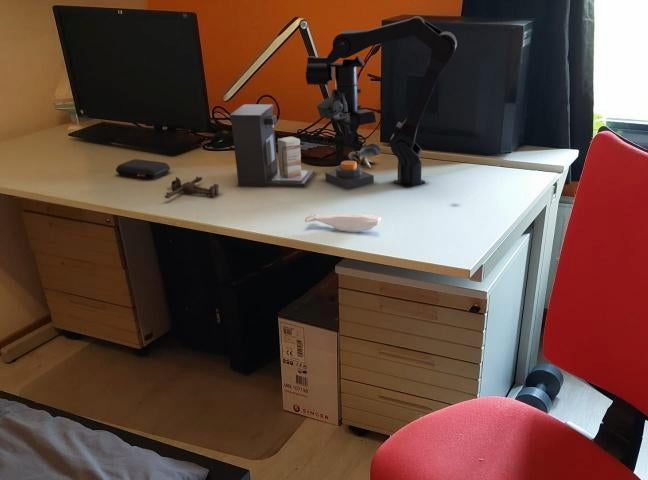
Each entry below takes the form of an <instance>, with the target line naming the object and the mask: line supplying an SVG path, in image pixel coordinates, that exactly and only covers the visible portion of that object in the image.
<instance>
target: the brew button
mask: <svg viewBox="0 0 648 480" xmlns="http://www.w3.org/2000/svg"><path fill="white" fill-rule="evenodd" d="M340 165H341V169H342V170H355V169H357V162H356V161H354V160H343V161H341V162H340Z"/></svg>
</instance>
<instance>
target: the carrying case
mask: <svg viewBox="0 0 648 480" xmlns="http://www.w3.org/2000/svg"><path fill="white" fill-rule="evenodd" d="M115 168H116V169H115V172H116V173H117V174H118V175H119V176H125V177H132V178H137V179H139V178H140V179H147V180H153V179H156V178H159V177H161V176H164V175H165V174H168V173H169V172H170V170H171V166H170V165H169V164H168V163H166V162H162V161H154V160H147V159H139V158H138V159H137V158H133V159H130V160H128V161H126V162H123V163H120V164H118V165H117V166H116V167H115Z"/></svg>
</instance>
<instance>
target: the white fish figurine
mask: <svg viewBox="0 0 648 480" xmlns="http://www.w3.org/2000/svg"><path fill="white" fill-rule="evenodd" d="M381 219H382V217H381V216H377V215H371V214H366V213H363V214H357V213H356V214H355V213H354V214H351V213H338V214H334V215H333V214H332V215H330V214H329V215H317V214H315V213H313V212H311V213H310V214H309V215H308V216H306V218H305V219H304V223H309V222H314V221H315V222H320V223H323V224H324V225H328V226H330V227H332V228H334V229H335V230H337V231H339V232H349V233H350V232H351V233H352V232H354V233H355V232H356V233H357V232H365V231H369V230H371V229H373V228H374V227H377V226H378V224H380V222H381Z"/></svg>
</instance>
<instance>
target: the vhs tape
mask: <svg viewBox="0 0 648 480" xmlns="http://www.w3.org/2000/svg"><path fill="white" fill-rule="evenodd" d="M317 146H328V145H327V144H321V143H313V142H307V141H301V140H300V154H301V157H306V158H313V156H309V155H307V154H305V153H301V152H302V151H304V150H307V149H308V148H313V147H317ZM330 146H331V147H335V146H333V145H330Z"/></svg>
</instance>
